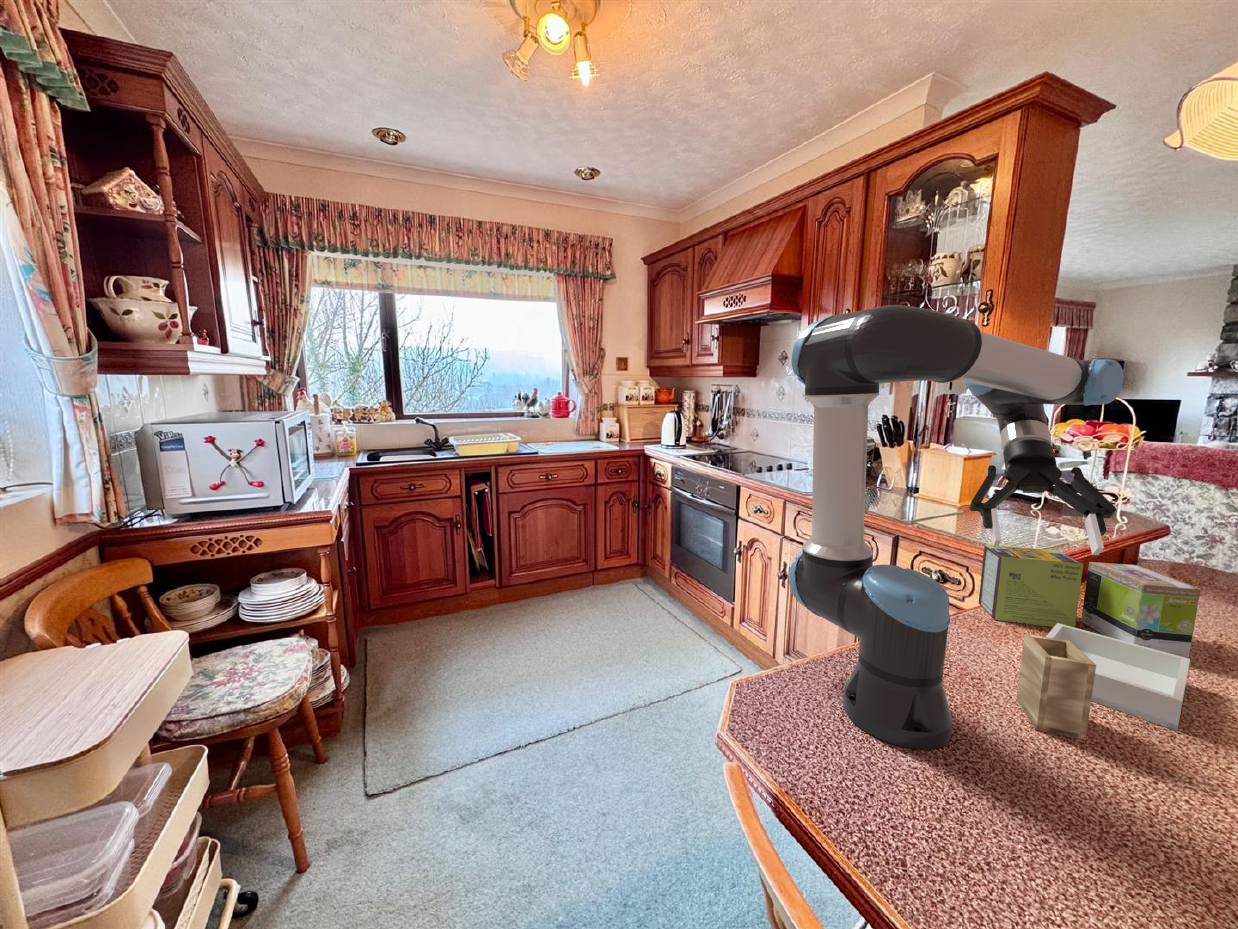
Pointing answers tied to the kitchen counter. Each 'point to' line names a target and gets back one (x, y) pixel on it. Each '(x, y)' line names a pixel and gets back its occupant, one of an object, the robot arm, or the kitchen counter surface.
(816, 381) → the robot arm
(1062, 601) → the protein box
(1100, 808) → the kitchen counter surface
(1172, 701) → the tray
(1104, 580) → the tea box
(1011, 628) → the kitchen counter surface
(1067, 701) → the box
